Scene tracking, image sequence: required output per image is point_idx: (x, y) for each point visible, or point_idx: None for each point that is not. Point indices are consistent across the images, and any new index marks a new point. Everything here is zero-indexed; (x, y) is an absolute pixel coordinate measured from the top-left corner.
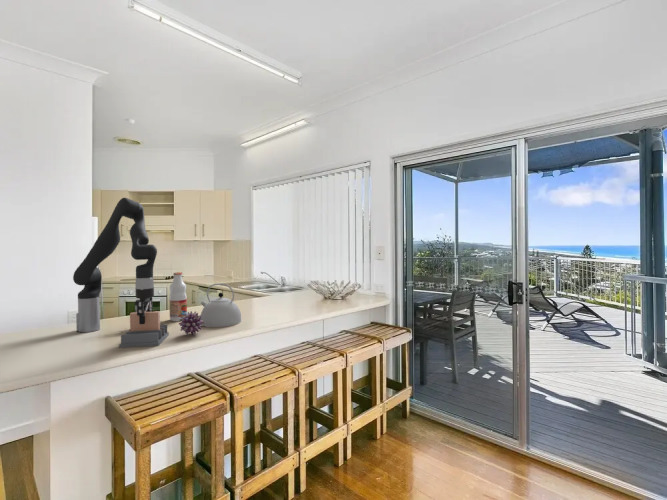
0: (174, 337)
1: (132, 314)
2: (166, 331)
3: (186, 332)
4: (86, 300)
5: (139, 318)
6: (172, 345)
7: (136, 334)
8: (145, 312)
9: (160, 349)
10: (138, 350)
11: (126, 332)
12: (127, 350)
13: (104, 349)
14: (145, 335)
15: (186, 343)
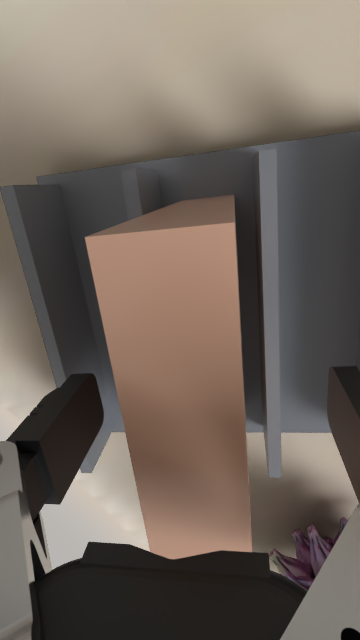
0: (281, 461)
1: (107, 288)
2: None
3: (304, 540)
4: None
5: (38, 417)
6: (107, 480)
7: (41, 328)
8: (48, 558)
9: None
10: (10, 337)
11: (125, 183)
12: (3, 269)
13: (4, 62)
14: None
15: (140, 531)
